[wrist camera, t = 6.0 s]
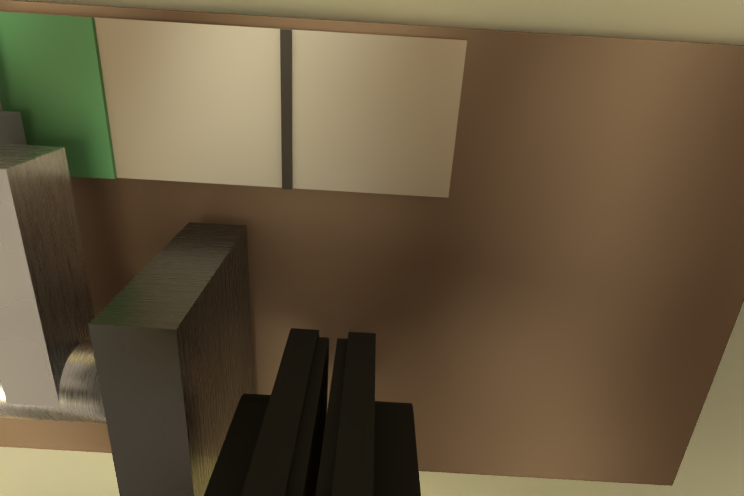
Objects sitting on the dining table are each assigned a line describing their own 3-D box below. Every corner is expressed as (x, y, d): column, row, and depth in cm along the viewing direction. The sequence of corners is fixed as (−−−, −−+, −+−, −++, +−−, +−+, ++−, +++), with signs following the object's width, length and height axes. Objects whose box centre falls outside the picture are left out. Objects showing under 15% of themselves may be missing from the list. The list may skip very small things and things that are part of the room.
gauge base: (783, 48, 11) (1179, 71, 6) (646, 444, 15) (793, 678, 10) (-442, -28, 11) (-1280, -82, 5) (-232, 393, 15) (-579, 600, 10)
